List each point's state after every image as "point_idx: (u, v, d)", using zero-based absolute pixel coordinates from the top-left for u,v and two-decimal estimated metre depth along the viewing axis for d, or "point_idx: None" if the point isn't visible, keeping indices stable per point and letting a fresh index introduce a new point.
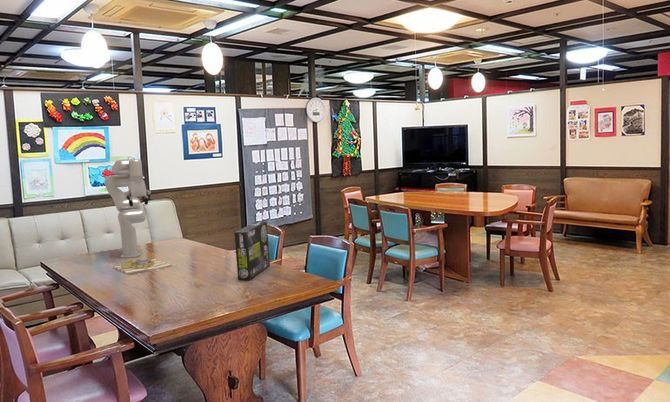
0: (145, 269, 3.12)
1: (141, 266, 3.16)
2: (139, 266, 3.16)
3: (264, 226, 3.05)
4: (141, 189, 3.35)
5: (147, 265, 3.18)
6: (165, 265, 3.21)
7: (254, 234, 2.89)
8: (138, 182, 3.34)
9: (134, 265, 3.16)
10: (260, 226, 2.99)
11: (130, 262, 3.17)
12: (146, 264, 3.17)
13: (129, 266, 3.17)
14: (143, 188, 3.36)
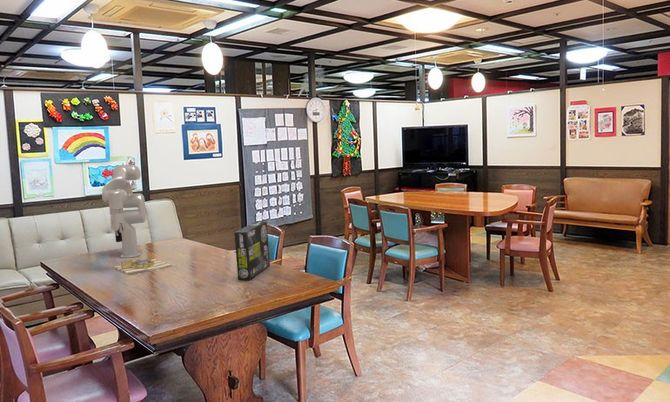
0: (145, 269, 3.12)
1: (141, 266, 3.16)
2: (139, 266, 3.16)
3: (264, 226, 3.05)
4: None
5: (147, 265, 3.18)
6: (165, 265, 3.21)
7: (254, 234, 2.89)
8: None
9: (134, 265, 3.16)
10: (260, 226, 2.99)
11: (130, 262, 3.17)
12: (146, 264, 3.17)
13: (129, 266, 3.17)
14: None
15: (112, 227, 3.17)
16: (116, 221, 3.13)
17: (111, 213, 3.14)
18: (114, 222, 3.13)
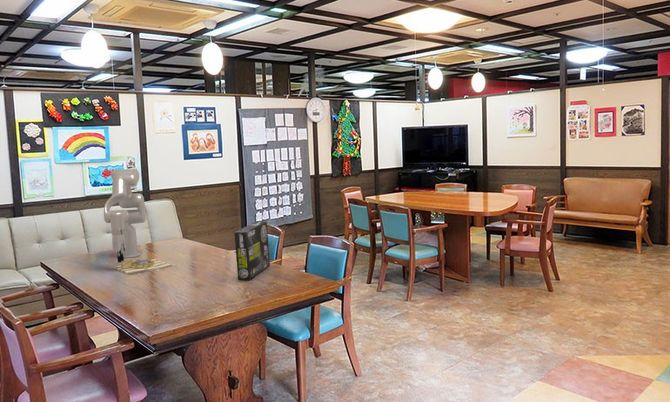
0: (145, 269, 3.12)
1: (141, 266, 3.16)
2: (139, 266, 3.16)
3: (264, 226, 3.05)
4: None
5: (147, 265, 3.18)
6: (165, 265, 3.21)
7: (254, 234, 2.89)
8: None
9: (134, 265, 3.16)
10: (260, 226, 2.99)
11: (130, 262, 3.17)
12: (146, 264, 3.17)
13: (129, 266, 3.17)
14: None
15: (114, 248, 3.18)
16: (118, 242, 3.14)
17: (113, 234, 3.15)
18: (116, 243, 3.15)
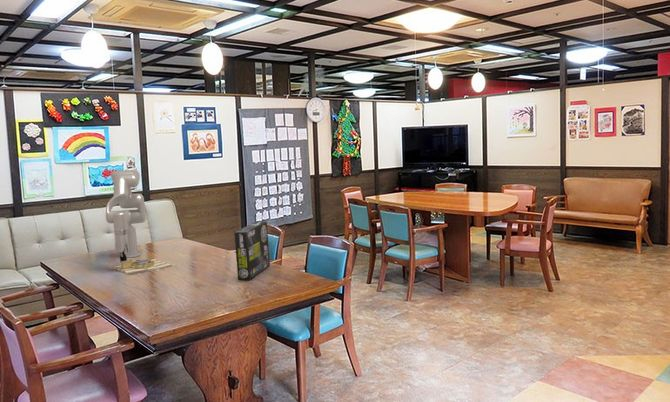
0: (145, 269, 3.12)
1: (141, 266, 3.16)
2: (139, 266, 3.16)
3: (264, 226, 3.05)
4: None
5: (147, 265, 3.18)
6: (165, 265, 3.21)
7: (254, 234, 2.89)
8: None
9: (134, 265, 3.16)
10: (260, 226, 2.99)
11: (130, 262, 3.17)
12: (146, 264, 3.18)
13: (129, 266, 3.17)
14: None
15: (117, 248, 3.16)
16: (121, 243, 3.12)
17: (116, 234, 3.13)
18: (119, 243, 3.13)
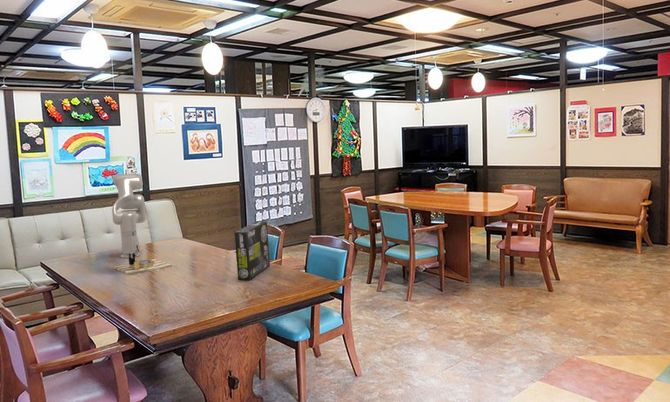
0: (145, 269, 3.12)
1: (151, 264, 3.20)
2: (150, 264, 3.19)
3: (264, 226, 3.05)
4: None
5: (154, 263, 3.24)
6: (165, 265, 3.21)
7: (254, 234, 2.89)
8: None
9: (145, 264, 3.17)
10: (260, 226, 2.99)
11: (140, 262, 3.15)
12: (153, 262, 3.23)
13: (140, 266, 3.15)
14: None
15: (126, 250, 3.10)
16: (133, 244, 3.08)
17: (126, 236, 3.08)
18: (130, 245, 3.08)
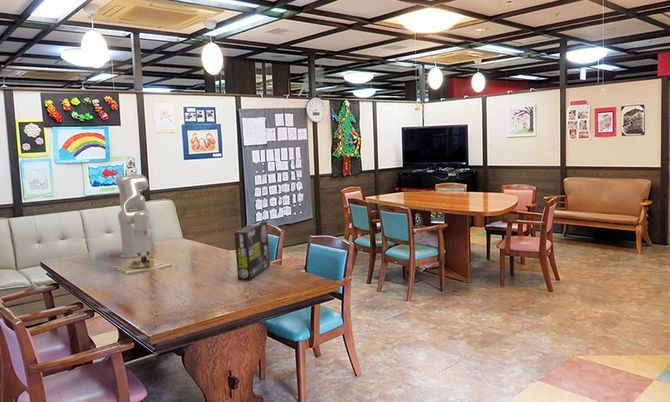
0: (145, 269, 3.12)
1: None
2: None
3: (264, 226, 3.05)
4: None
5: None
6: (165, 265, 3.21)
7: (254, 234, 2.89)
8: None
9: None
10: (260, 226, 2.99)
11: None
12: None
13: None
14: None
15: (141, 249, 3.10)
16: (150, 241, 3.13)
17: (144, 234, 3.10)
18: (148, 243, 3.11)
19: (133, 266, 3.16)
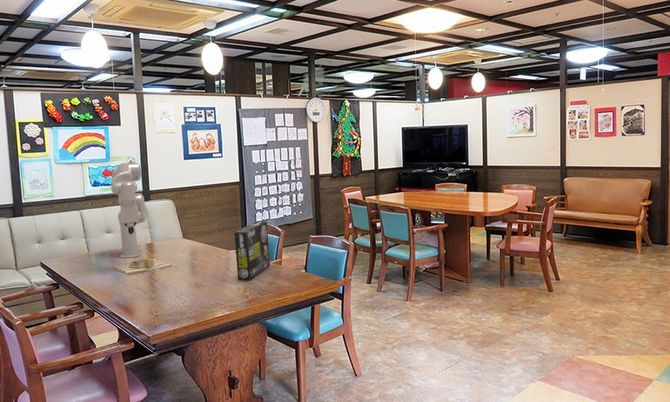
0: (145, 269, 3.12)
1: None
2: None
3: (264, 226, 3.05)
4: None
5: None
6: (165, 265, 3.21)
7: (254, 234, 2.89)
8: None
9: None
10: (260, 226, 2.99)
11: None
12: None
13: None
14: None
15: (128, 219, 3.11)
16: (137, 212, 3.13)
17: (131, 204, 3.10)
18: (135, 213, 3.12)
19: (133, 266, 3.16)
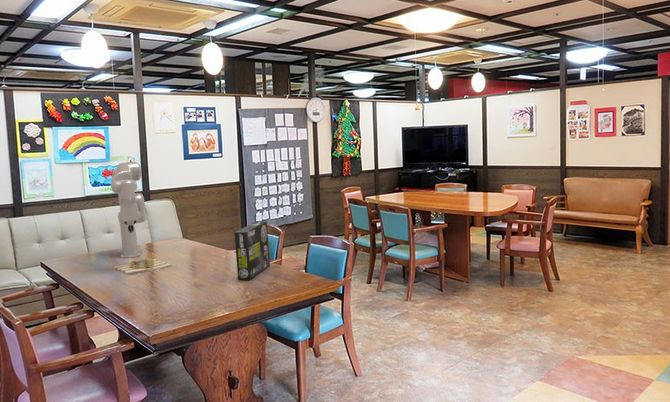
0: (145, 269, 3.12)
1: None
2: None
3: (264, 226, 3.05)
4: None
5: None
6: (165, 265, 3.21)
7: (254, 234, 2.89)
8: None
9: None
10: (260, 226, 2.99)
11: None
12: None
13: None
14: None
15: (128, 218, 3.10)
16: (137, 210, 3.13)
17: (131, 203, 3.10)
18: (134, 211, 3.12)
19: (133, 266, 3.16)
